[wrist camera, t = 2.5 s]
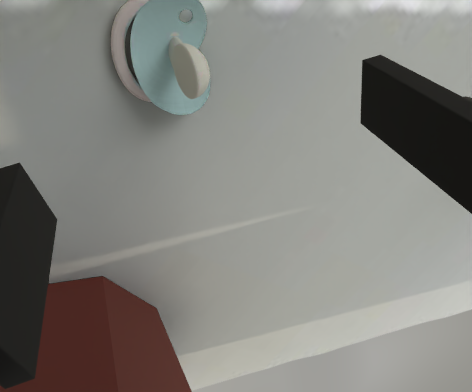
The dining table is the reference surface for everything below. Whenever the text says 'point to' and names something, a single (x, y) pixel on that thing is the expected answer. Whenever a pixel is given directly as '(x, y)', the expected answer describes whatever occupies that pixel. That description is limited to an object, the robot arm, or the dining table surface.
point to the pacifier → (163, 53)
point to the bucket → (102, 343)
